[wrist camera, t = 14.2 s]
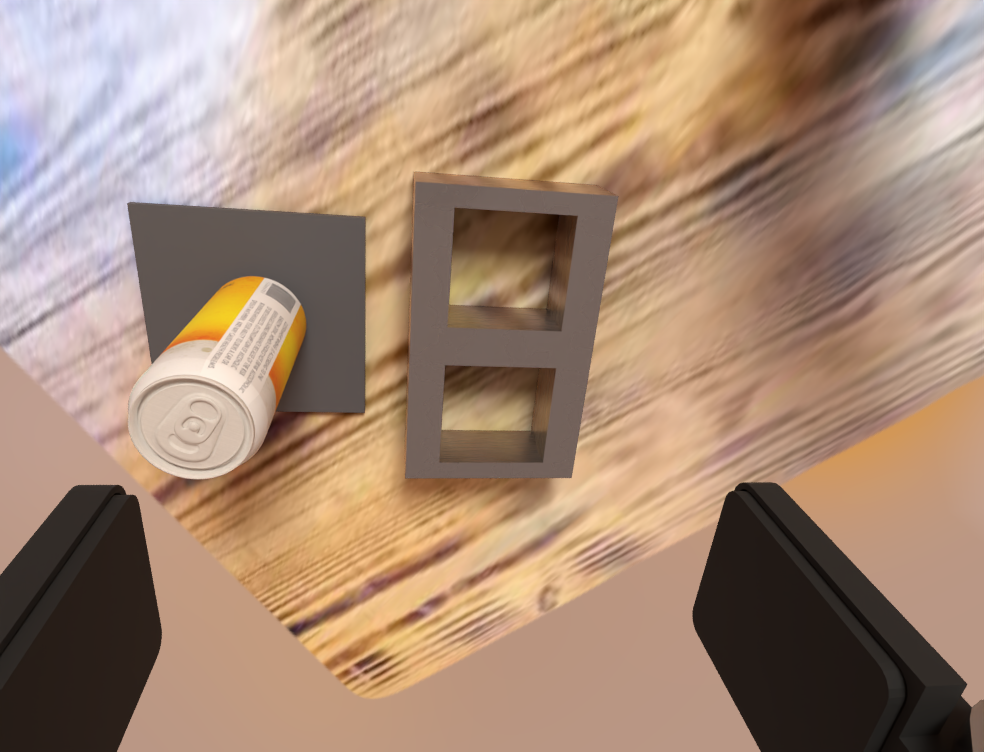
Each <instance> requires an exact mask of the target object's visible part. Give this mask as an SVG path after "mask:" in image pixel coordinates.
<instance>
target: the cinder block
mask: <svg viewBox="0 0 984 752" xmlns="http://www.w3.org/2000/svg"><path fill="white" fill-rule="evenodd" d="M617 201H618V196H617V195H615V194H613V193H611V192H609V191H607V190H605V189H603V188H601V187H599V186H597V185H588V184H574V183H561V182H547V181H534V180H520V179H507V178H493V177H480V176H466V175H453V174H439V173H426V172H414V186H413V217H412V247H411V277H410V307H409V337H408V367H407V397H406V427H405V478H572V472H573V466H574V460H575V454H576V448H577V442H578V436H579V430H580V424H581V418H582V412H583V406H584V400H585V394H586V388H587V382H588V376H589V370H590V364H591V358H592V352H593V346H594V340H595V333H596V327H597V321H598V315H599V309H600V303H601V297H602V291H603V285H604V279H605V273H606V267H607V261H608V255H609V249H610V243H611V237H612V231H613V225H614V219H615V213H616V207H617ZM455 208H468V209H483V210H498V211H514V212H529V213H544V214H559V219H558V226H557V234H556V242H555V250H554V257H553V265H552V273H551V280H550V288H549V296H548V304H547V309H533V308H509V307H485V306H460V305H449V292H450V276H451V259H452V243H453V226H454V210H455ZM445 365H454V366H492V367H531V368H539V373H538V381H537V389H536V397H535V404H534V412H533V420H532V427H531V431H463V430H441V425H442V408H443V391H444V375H445Z"/></svg>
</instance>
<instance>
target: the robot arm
mask: <svg viewBox="0 0 984 752" xmlns="http://www.w3.org/2000/svg"><path fill="white" fill-rule="evenodd" d="M693 623H694V627H695V630H696V632H697V634H698V636H699V638H700V640H701V641H702V643H703V645H704V647H705V649H706V651H707V653H708V655H709V656H710V658H711V660H712V662H713V664H714V665H715V667H716V669H717V671H718V673H719V675H720V677H721V679H722V680H723V682H724V684H725V686H726V688H727V690H728V692H729V693H730V695H731V697H732V699H733V701H734V703H735V705H736V706H737V708H738V710H739V712H740V714H741V715H742V717H743V719H744V721H745V723H746V725H747V727H748V728H749V730H750V732H751V734H752V736H753V738H754V740H755V741H756V743H757V745H758V747H759V749H760V751H761V752H984V700H980V701H979V702H978V703H977V704H976V705H974V706H973V707H971V706H970V705H969V704H968V703H967V702H966V701H965V700H964V699H963V698H962V696H961V694H962V693H963V691H964V689H965V688H966V686H967V683H966V682H965V681H964V680H963V679H962V678H961V677H960V676H959V675H958V674H957V672H956V671H955V670H954V669H953V668H952V667H951V666H950V665H949V664H948V663H947V662H946V661H945V660H944V659H943V658H942V657H941V656H940V655H939V653H937V652H936V650H935V649H934V648H933V647H931V645H930V644H929V643H928V642H927V641H926V640H925V639H924V638H923V637H922V636H921V634H919V632H918V631H917V630H916V629H915V628H914V627H913V626H912V625H911V624H910V623H909V622H908V621H907V620H906V619H905V618H904V617H903V615H902V614H901V613H900V612H899V611H898V610H897V609H896V608H895V607H894V606H893V605H892V604H891V603H890V602H889V601H888V600H887V599H886V598H885V597H884V595H883V594H882V593H881V592H880V591H879V590H878V589H877V588H876V587H875V586H874V585H873V584H872V583H871V582H870V581H869V580H868V579H867V577H866V576H865V575H864V574H863V573H862V572H861V571H860V570H859V569H858V568H857V567H856V566H855V565H854V564H853V563H852V562H851V561H850V560H849V559H848V557H847V556H846V555H845V554H844V553H843V552H842V551H841V550H840V549H839V548H838V547H837V546H836V545H835V544H834V543H833V542H832V540H831V539H829V537H828V536H827V535H826V534H825V533H824V532H823V531H822V530H821V529H820V528H819V527H818V526H817V525H816V524H815V523H814V521H813V520H811V518H810V517H809V516H808V515H807V514H806V513H805V512H804V511H803V510H802V509H801V508H800V507H799V506H798V505H797V504H796V503H795V501H794V500H793V499H792V498H791V497H790V496H789V495H788V494H787V493H786V492H785V491H784V490H783V489H782V488H781V487H780V486H779V485H778V484H776V483H772V482H767V483H740V484H739V485H738V486H737V487H736V488H735V490H734V491H731V492H729V493H728V494H727V496H726V498H725V501H724V505H723V508H722V511H721V515H720V518H719V522H718V525H717V529H716V532H715V536H714V539H713V542H712V546H711V549H710V552H709V556H708V559H707V563H706V566H705V570H704V573H703V576H702V580H701V583H700V587H699V590H698V594H697V597H696V600H695V604H694V607H693ZM161 639H162V629H161V623H160V617H159V612H158V606H157V600H156V595H155V589H154V584H153V578H152V573H151V567H150V562H149V556H148V550H147V545H146V539H145V534H144V528H143V523H142V517H141V512H140V506H139V502H138V499H137V497H136V496H135V495H126V492H125V490H124V488H122V486H120V485H78V486H75V487H73V488H72V489H71V490H70V491H69V492H68V493H67V494H66V496H65V497H64V498H63V499H62V501H61V502H60V503H59V504H58V505H57V507H56V508H55V509H54V510H53V511H52V513H51V514H50V515H49V516H48V518H47V519H46V520H45V521H44V522H43V524H42V525H41V526H40V527H39V529H38V530H37V531H36V532H35V533H34V535H33V536H32V537H31V538H30V540H29V541H28V542H27V543H26V545H25V546H24V547H23V548H22V550H21V551H20V552H19V553H18V554H17V555H16V557H15V558H14V559H13V560H12V562H11V563H10V564H9V565H8V566H7V568H6V569H5V570H4V571H3V573H2V574H1V575H0V752H117V750H118V747H119V745H120V743H121V741H122V738H123V736H124V733H125V731H126V729H127V726H128V724H129V722H130V719H131V717H132V715H133V712H134V710H135V708H136V705H137V703H138V701H139V698H140V696H141V694H142V691H143V689H144V687H145V684H146V682H147V679H148V677H149V675H150V673H151V670H152V668H153V666H154V663H155V661H156V659H157V656H158V653H159V650H160V646H161Z"/></svg>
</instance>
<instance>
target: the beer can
mask: <svg viewBox="0 0 984 752" xmlns="http://www.w3.org/2000/svg"><path fill="white" fill-rule="evenodd" d="M305 333H306V317H305V313H304V310H303V308H302V306H301V304H300V302H299V300H298V299H297V298H296V296H295V295H294V294H293V293H292V292H291V291H290V290H289V289H287V288H286V287H285V286H283V285H282V284H280V283H278V282H276V281H274V280H271V279H268V278H264V277H258V276H246V277H241V278H237V279H234V280H232V281H230V282H228V283H226V284H225V285H224V286H222V287H221V288H220V289H219V290H218V291H217V292H216V293H215V294H214V296H213V297H212V298H211V299H210V300H209V301H208V302H207V303H206V304H205V306H204V307H203V308H202V309H201V310H200V311H199V312H198V313H197V315H196V316H195V317H194V318H193V319H192V320H191V321H190V322H189V323H188V325H187V326H186V327H185V328H184V329H183V330H182V331H181V332H180V334H179V335H178V336H177V337H176V338H175V339H174V340H173V341H172V342H171V344H170V345H169V346H168V347H167V348H166V349H165V350H164V351H163V353H162V354H161V355H160V356H159V357H158V358H157V359H156V360H155V361H154V363H153V364H152V365H151V366H150V367H149V368H148V369H147V370H146V371H145V373H144V374H143V375H142V376H141V377H140V378H139V380H138V381H137V382H136V383H135V385H134V387H133V389H132V391H131V394H130V397H129V401H128V430H129V434H130V437H131V440H132V442H133V444H134V446H135V447H136V449H137V450H138V452H139V453H140V454H141V455H142V456H143V457H144V458H145V459H146V460H147V461H148V462H149V463H151V464H152V465H153V466H155V467H157V468H158V469H160V470H162V471H164V472H166V473H168V474H171V475H174V476H177V477H181V478H186V479H210V478H215V477H218V476H222V475H224V474H226V473H228V472H230V471H232V470H234V469H235V468H236V467H238V466H239V465H241V464H243V463H245V462H246V461H248V460H249V459H250V458H251V457H252V456H254V455H255V453H256V452H257V451H258V450H259V448H260V447H261V445H262V443H263V441H264V439H265V437H266V434H267V432H268V429H269V427H270V424H271V421H272V419H273V416H274V414H275V411H276V409H277V406H278V403H279V401H280V398H281V396H282V393H283V391H284V388H285V385H286V383H287V380H288V378H289V375H290V373H291V370H292V368H293V365H294V362H295V360H296V357H297V355H298V352H299V350H300V347H301V344H302V342H303V339H304V336H305Z"/></svg>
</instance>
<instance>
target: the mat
mask: <svg viewBox="0 0 984 752" xmlns="http://www.w3.org/2000/svg"><path fill="white" fill-rule="evenodd" d="M127 205H128V211H129V218H130V225H131V231H132V238H133V244H134V251H135V257H136V264H137V270H138V277H139V283H140V290H141V297H142V303H143V310H144V316H145V323H146V329H147V336H148V342H149V349H150V356H151V362H152V364H153V363H154V361H155V360H156V359H157V358H158V357H159V356H160V355H161V354H162V353H163V351H164V350H165V349H166V348H167V347H168V346H169V345H170V344H171V342H172V341H173V340H174V339H175V338H176V337H177V336H178V335H179V334H180V332H181V331H182V330H183V329H184V328H185V327H186V326H187V325H188V323H189V322H190V321H191V320H192V319H193V318H194V317H195V316H196V315H197V313H198V312H199V311H200V310H201V309H202V308H203V307H204V306H205V304H206V303H207V302H208V301H209V300H210V299H211V298H212V297H213V296H214V294H215V293H216V292H217V291H218V290H219V289H220V288H221V287H222V286H224V285H225V284H226V283H228V282H230V281H232V280H234V279H237V278H241V277H246V276H258V277H264V278H268V279H271V280H274V281H276V282H278V283H280V284H282V285H283V286H285V287H286V288H287V289H289V290H290V291H291V292H292V293H293V294H294V295H295V296H296V298H297V299H298V300H299V302H300V304H301V306H302V308H303V310H304V313H305V317H306V333H305V336H304V339H303V342H302V344H301V347H300V350H299V352H298V355H297V357H296V360H295V362H294V365H293V368H292V370H291V373H290V375H289V378H288V380H287V383H286V385H285V388H284V391H283V393H282V396H281V398H280V401H279V403H278V406H277V409H276V411H282V412H354V413H365V217H361V216H345V215H329V214H313V213H297V212H280V211H264V210H248V209H232V208H216V207H200V206H184V205H168V204H152V203H136V202H130V203H127Z"/></svg>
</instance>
